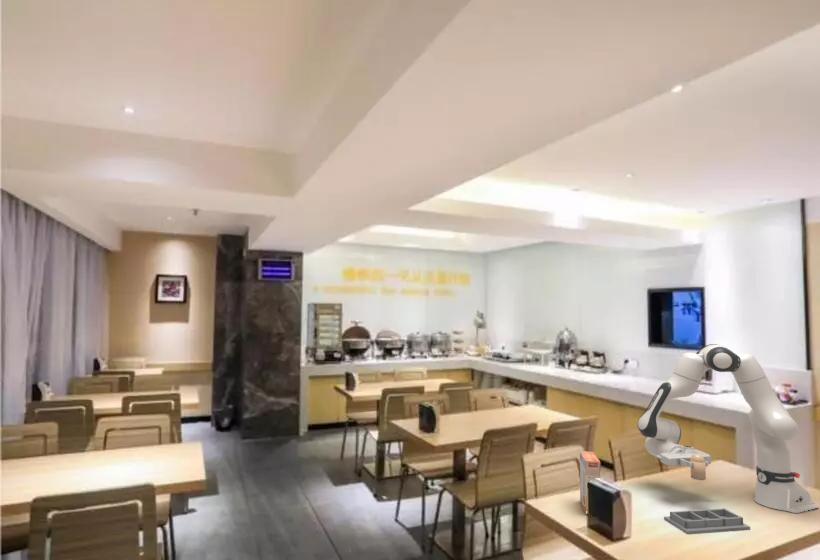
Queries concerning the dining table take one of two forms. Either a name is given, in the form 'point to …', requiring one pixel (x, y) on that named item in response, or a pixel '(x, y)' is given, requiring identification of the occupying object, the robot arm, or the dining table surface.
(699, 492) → the dining table surface
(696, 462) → the tan domed cylinder
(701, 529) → the grey compartment tray
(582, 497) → the cracker box
